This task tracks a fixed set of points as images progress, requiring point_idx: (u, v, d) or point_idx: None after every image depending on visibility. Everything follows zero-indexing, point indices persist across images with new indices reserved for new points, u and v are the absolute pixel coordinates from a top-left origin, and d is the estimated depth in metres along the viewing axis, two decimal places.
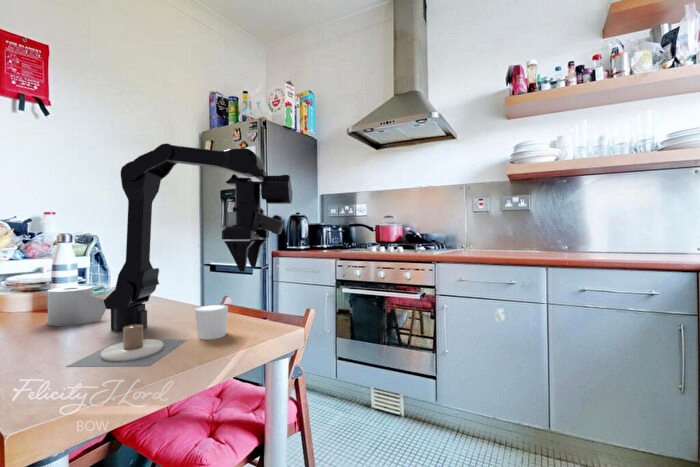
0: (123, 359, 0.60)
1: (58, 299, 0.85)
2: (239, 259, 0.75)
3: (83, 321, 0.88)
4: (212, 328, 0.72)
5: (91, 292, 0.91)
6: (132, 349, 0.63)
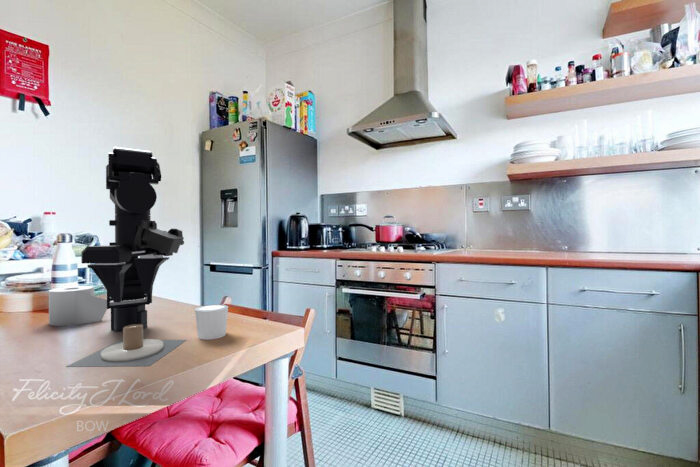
0: (123, 359, 0.60)
1: (59, 299, 0.85)
2: (111, 287, 0.59)
3: (84, 321, 0.88)
4: (212, 328, 0.72)
5: (92, 292, 0.91)
6: (132, 349, 0.63)
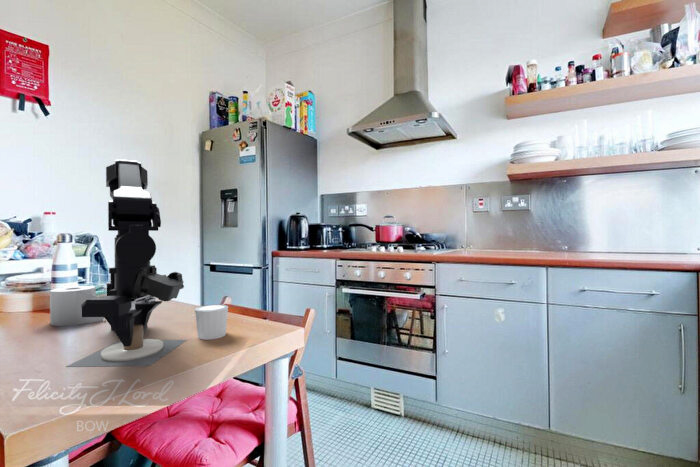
0: (123, 359, 0.60)
1: (60, 299, 0.85)
2: (121, 332, 0.62)
3: (85, 321, 0.88)
4: (212, 328, 0.72)
5: (93, 292, 0.91)
6: (132, 349, 0.63)
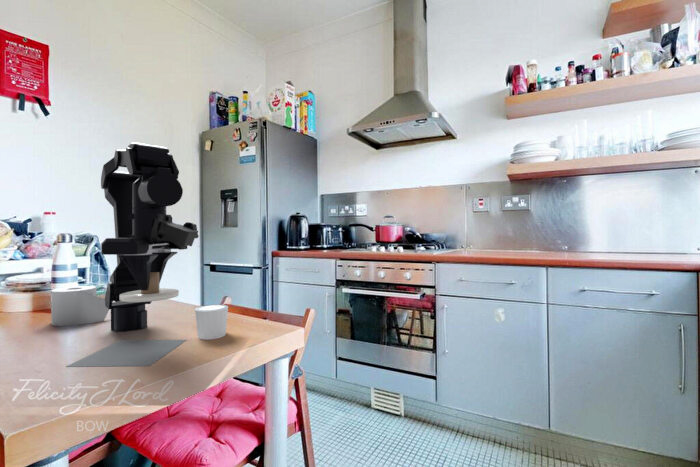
0: (141, 300, 0.62)
1: (62, 299, 0.85)
2: (139, 276, 0.64)
3: (87, 321, 0.88)
4: (212, 328, 0.72)
5: (94, 292, 0.91)
6: (149, 293, 0.65)
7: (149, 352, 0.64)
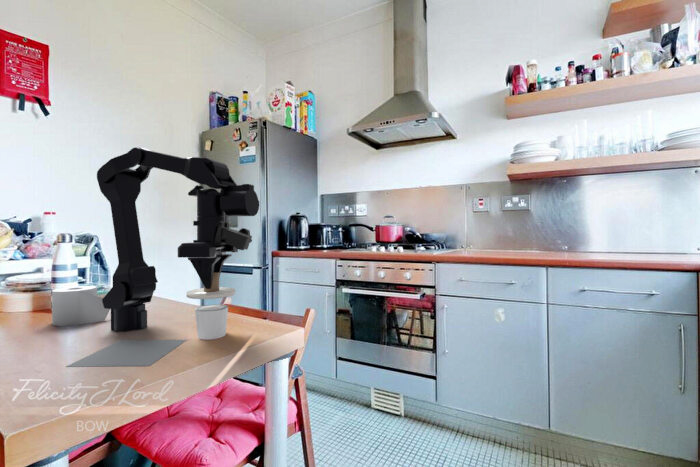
0: (208, 297, 0.70)
1: (62, 299, 0.85)
2: (204, 276, 0.72)
3: (87, 321, 0.88)
4: (212, 328, 0.72)
5: (95, 292, 0.91)
6: (212, 291, 0.73)
7: (149, 352, 0.64)
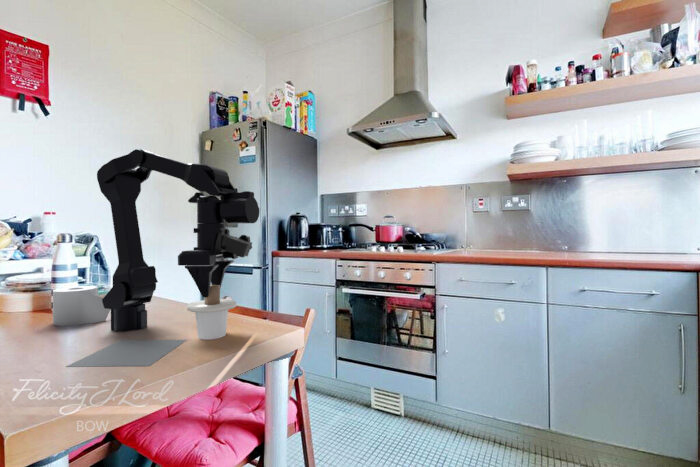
0: (209, 310, 0.70)
1: (63, 299, 0.85)
2: (202, 284, 0.71)
3: (88, 321, 0.88)
4: (212, 328, 0.72)
5: (96, 292, 0.91)
6: (213, 304, 0.73)
7: (149, 352, 0.64)
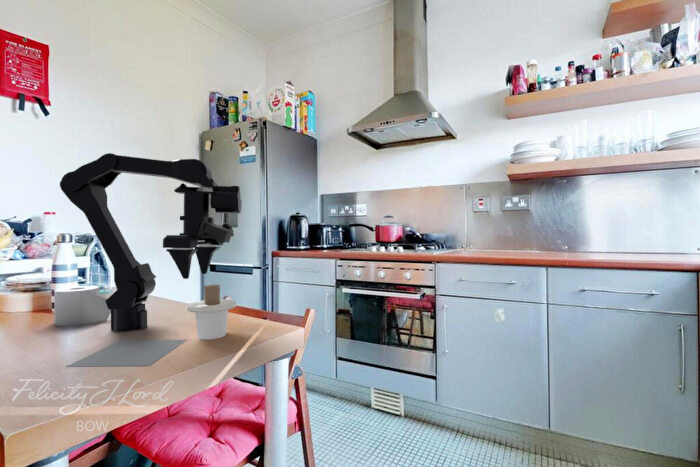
0: (209, 310, 0.70)
1: (65, 299, 0.85)
2: (182, 267, 0.77)
3: (90, 321, 0.88)
4: (212, 328, 0.72)
5: (97, 292, 0.91)
6: (213, 304, 0.73)
7: (149, 352, 0.64)
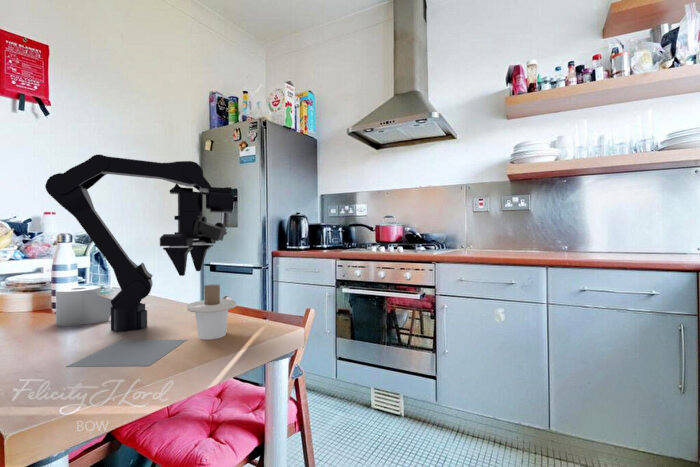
0: (209, 310, 0.70)
1: (66, 299, 0.85)
2: (178, 264, 0.81)
3: (91, 321, 0.88)
4: (212, 328, 0.72)
5: (99, 292, 0.91)
6: (213, 304, 0.73)
7: (149, 352, 0.64)
